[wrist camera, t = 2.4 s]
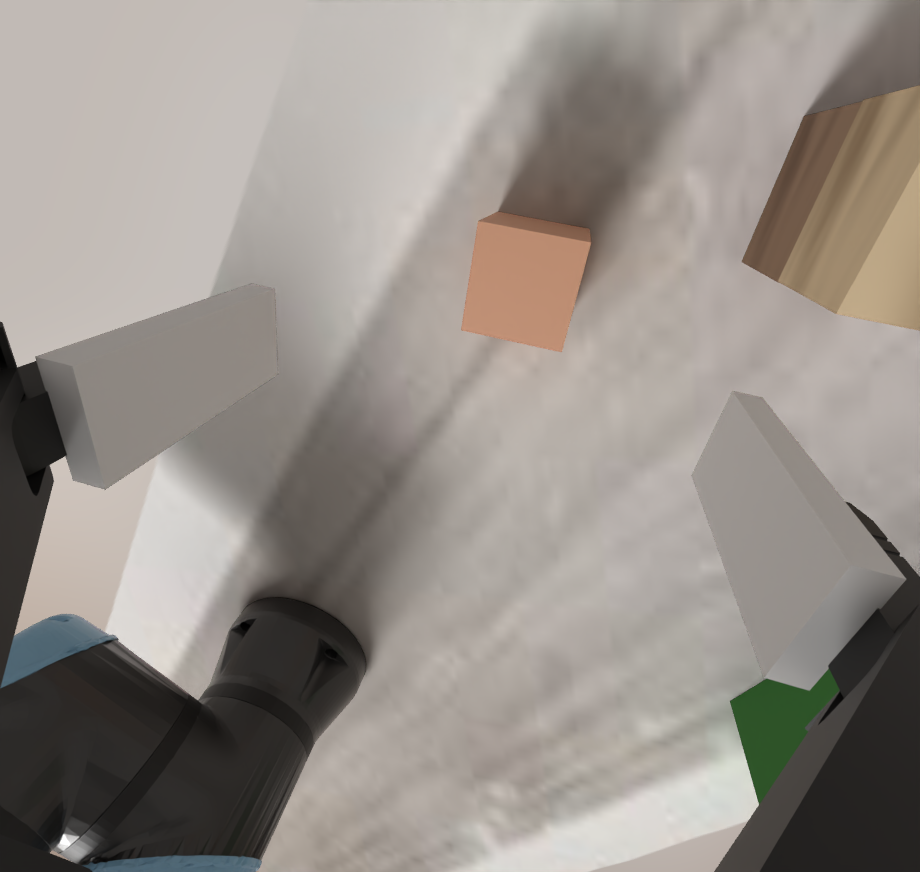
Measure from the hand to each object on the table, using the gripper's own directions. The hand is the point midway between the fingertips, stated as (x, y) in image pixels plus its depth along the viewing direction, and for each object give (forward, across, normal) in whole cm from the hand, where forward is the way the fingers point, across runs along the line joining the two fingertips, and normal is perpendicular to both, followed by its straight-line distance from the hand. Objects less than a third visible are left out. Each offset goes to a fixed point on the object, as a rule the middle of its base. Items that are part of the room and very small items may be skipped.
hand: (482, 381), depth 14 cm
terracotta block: (+19, 0, 0) cm, 19 cm away
